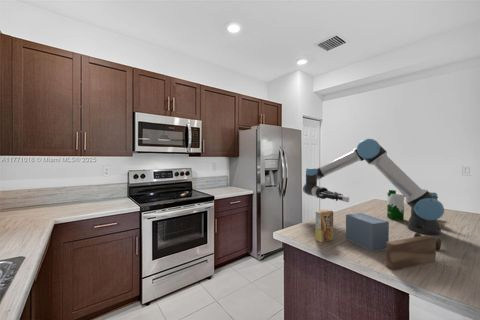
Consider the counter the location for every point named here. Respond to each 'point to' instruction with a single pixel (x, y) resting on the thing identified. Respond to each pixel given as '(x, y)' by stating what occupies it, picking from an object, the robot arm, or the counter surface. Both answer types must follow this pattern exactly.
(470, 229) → the counter surface
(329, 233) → the candy box
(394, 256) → the board
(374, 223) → the block
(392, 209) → the milk carton
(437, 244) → the kendama
